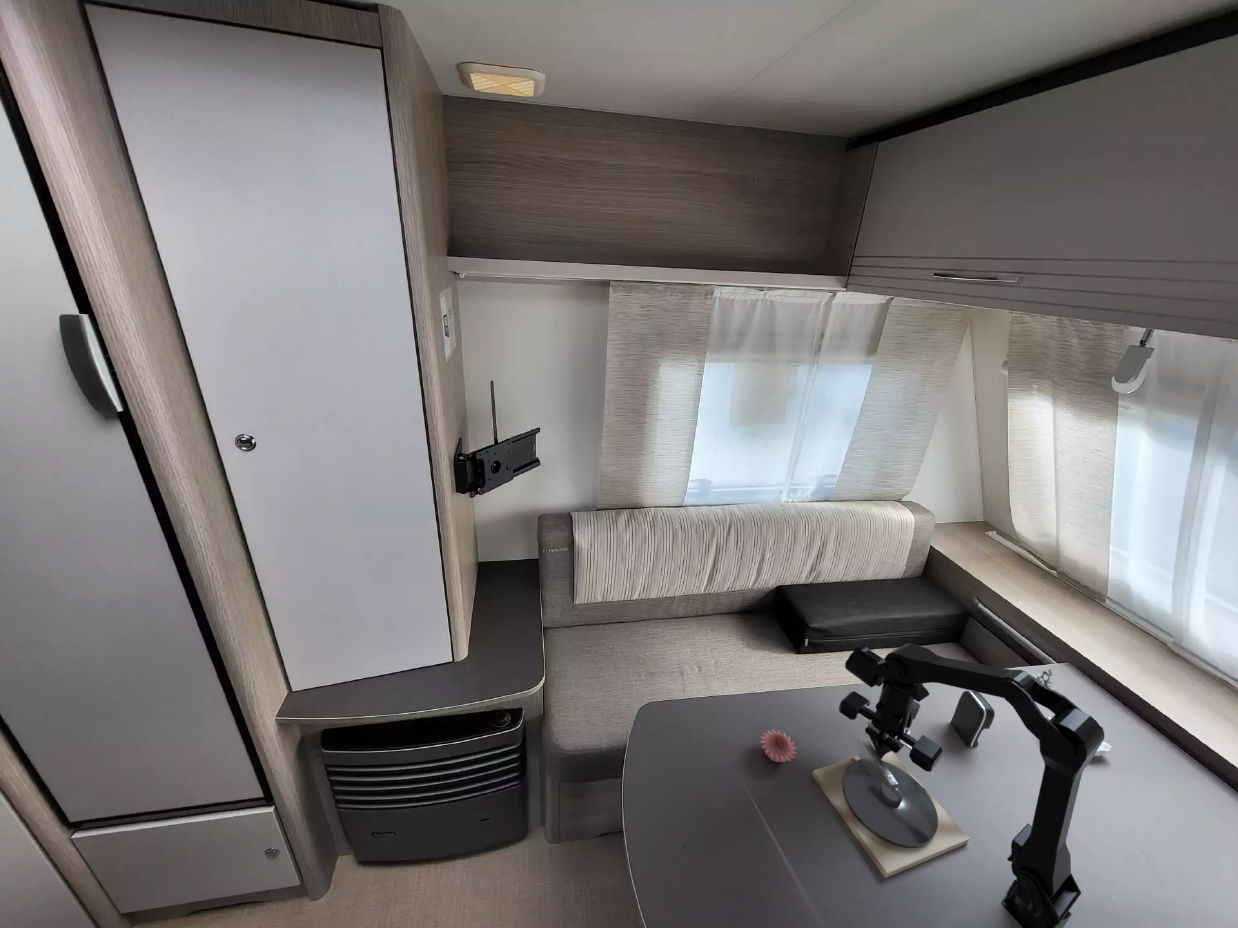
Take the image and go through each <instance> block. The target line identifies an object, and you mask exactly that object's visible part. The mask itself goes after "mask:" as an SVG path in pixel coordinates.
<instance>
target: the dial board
mask: <svg viewBox="0 0 1238 928" xmlns="http://www.w3.org/2000/svg"><path fill="white" fill-rule="evenodd" d="M857 760H860V758H859V756H858V755H857V756H855V757H852V758H849V759H846V760H843V761H839V762H837V763H833V764H830V765H827V766H824V767H820V768H816V769H814V770H812V771H813V772H812V775H811V776H812V777H813V779H814V780H815V782H816V783H817V785H818V786H819V787H820V789H821V790H822V792H823V793H824V794H825V796H826V797H827V799H828V801H830V803H831V804H832V805H833V807H834V809H835V810H836V811H837V813H838V814H839V815H840V817H841V818H842V820H843V821H844V823H845V824H846V825H847V827H848V828H849V829H850V831H851V832H852V833H853V835H854V836H855V839H857V840H858V842H859V843H860V845H861V846H862V847H863V849H864V850H865V851H866V853H867V855H868V856H869V857H870V859H871V860H872V861H873V864H874V865H875V866H876V867H877V869H878V870H879V872H880V873H881V875H882V876H883V877H884V879H887V878H889V877H892V876H895V875H896V874H898V873H901V872H903V871H906V870H908V869H911V868H913V867H915V866H918V865H921V864H923V863H924V862H927V861H930V860H932V859H935V858H937V857H939V856H942V855H943V854H945V853H946V854H947V853H948V852H951V851H953V850H955V849H958V848H961V847H962V846H965V845H967V844H968V843H969V841H970V839H971V838H970V837H969V835H967V834H966V832H965V831H963V829H962V828H961V827H960V826H959V825H958V823H956V821H955V820H954V819H953V818H952V817H951V816H950V814H948V812H947V811H946V810H945V809H944V808H943V807H942V806H941V805H940V804H939V803H938V802H937V800H936V799H935V798H934V797H933V796H932V795H931V793H930V792H929V791H928V790H927V789H926V788H925V787H924V786H923V784H922V783H921V782H920V781H919V780H918V779H917V778H916V777H915V776H914V775H913V774H912V773H911V771H910V770H909V769H907V767H906V766H905V765H904V763H903V762H902V761H901V760H900V759H899V758H898V757H897V756H896V755H895V753H894V752H893V751H891V752H888V753H886V754H885V755H884V756H883V758H882V761H885V762H887V763H890V764H892V765H894V766H896V767H898V768H900V769H902V770H903V771H905V772H906V773H907V774H909V775H910V776H911V777H913V778H914V779H915V780H916V781H917V782H918V783H919V784H920V785H921V786H922V787H923V788H924V790H925V791H926V792H927V794H928V795H929V797H930V798H931V800H932V802H933V804H934V806H935V808H936V812H937V815H938V827H937V831H936V833H935V835H934V837H933V839H932V840H931V841H930V842H929V843H928V844H927V845H924V846H922V847H918V848H905V847H900V846H897V845H893V844H891V843H889V842H886V841H884V840H883V839H881V838H879V837H878V836H876V835H875V834H873V833H872V832H871V831H869V830H868V829H867V828H866V827H865V826H864V825H863V824H862V823H861V822H860V821H859V820H858V819H857V818H856V817H855V815H854V814H853V813H852V811H851V810H850V808H849V806H848V804H847V802H846V800H845V797H844V794H843V788H842V781H843V776H844V773H845V771H846V769H847V768H848V766H849V765H850V764H851V763H853V762H855V761H857Z"/></svg>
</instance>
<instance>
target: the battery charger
mask: <svg viewBox="0 0 1238 928" xmlns="http://www.w3.org/2000/svg"><path fill="white" fill-rule="evenodd" d="M995 716H996V713H995V710H994V708H993V707H992V705H991V704H990V703H989V702H988V701H987V699H986V698H985V697H984V696H983V694H982V693H979V692H975V691H971V690H965V691H963V692H962V694H961V695H960V697H959V700H958V702H957V704H956V708H955V710H954V713H953V715H952V717H951V720H950V722H949V723H950V724H951V726H952V727H953V729H954V730H955V732H956V733H957V735H958V736H959V737H960V739H961V740H962V742H963V743H964V745H965V746H966V747H968V748H976V747H978V745H979V742H978V741H979V740H978V739H979V737H980V736H981V734H982V732H983V731H984V730H989V729H990V728H991V726H992V724H993V721H994V719H995Z"/></svg>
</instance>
